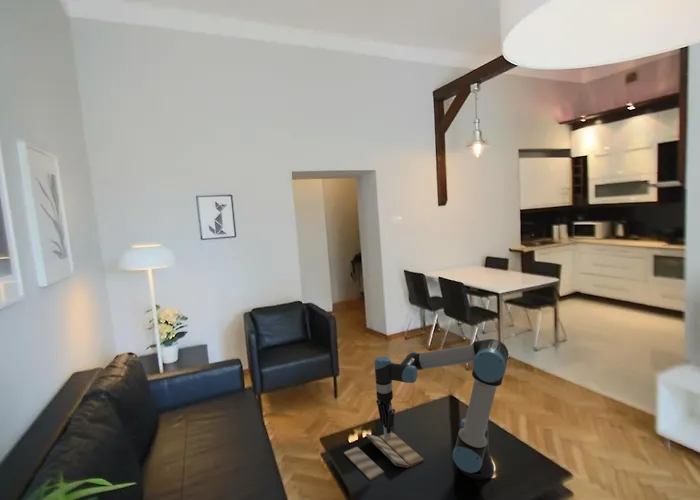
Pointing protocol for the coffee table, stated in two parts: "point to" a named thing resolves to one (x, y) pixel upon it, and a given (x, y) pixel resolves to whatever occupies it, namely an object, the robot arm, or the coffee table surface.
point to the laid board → (402, 450)
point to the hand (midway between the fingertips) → (387, 438)
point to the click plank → (387, 451)
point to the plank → (364, 463)
